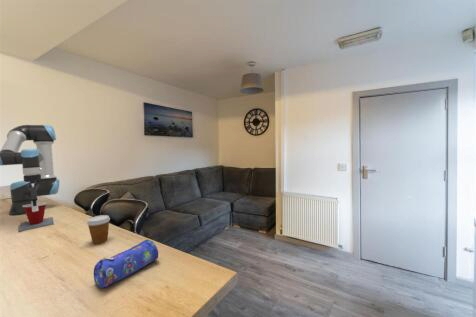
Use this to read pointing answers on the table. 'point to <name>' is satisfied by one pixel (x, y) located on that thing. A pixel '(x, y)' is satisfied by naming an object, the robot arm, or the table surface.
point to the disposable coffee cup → (99, 228)
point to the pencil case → (124, 263)
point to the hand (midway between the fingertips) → (35, 208)
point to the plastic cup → (35, 213)
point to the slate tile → (27, 226)
